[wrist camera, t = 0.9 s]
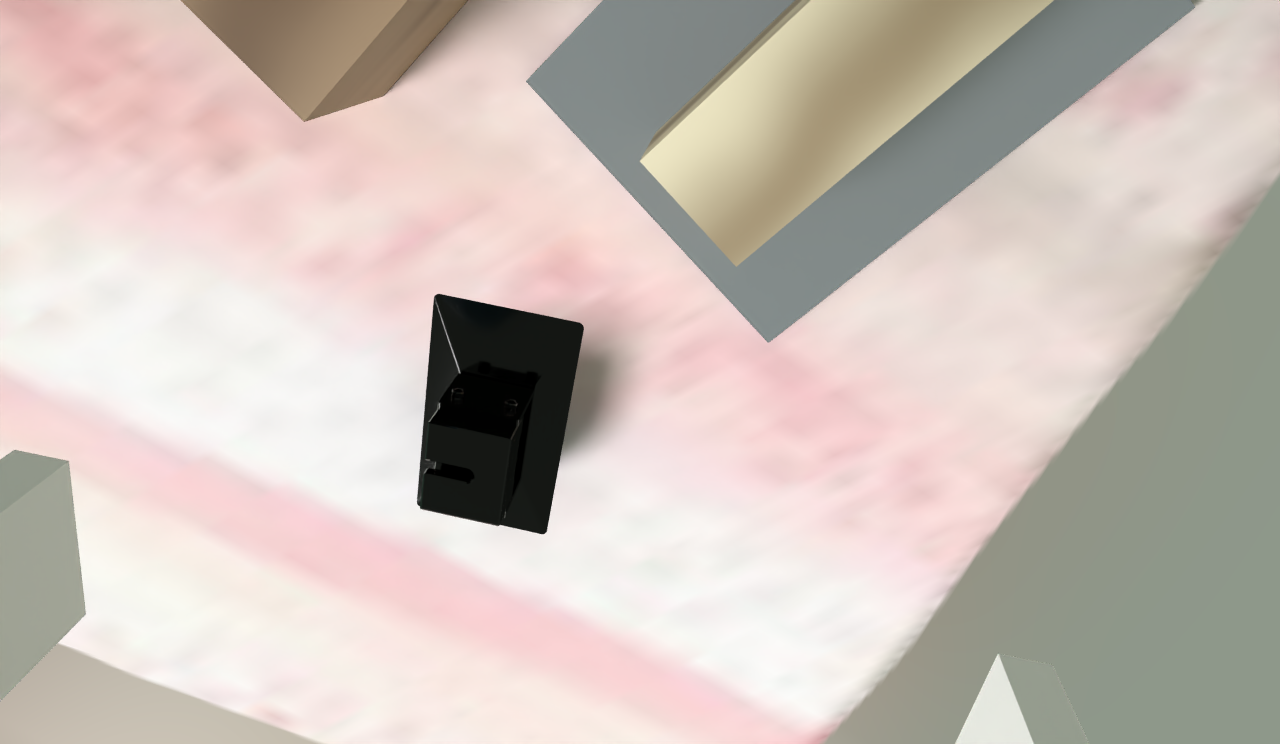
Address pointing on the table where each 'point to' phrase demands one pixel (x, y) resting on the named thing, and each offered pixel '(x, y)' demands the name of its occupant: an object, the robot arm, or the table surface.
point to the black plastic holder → (495, 412)
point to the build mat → (877, 187)
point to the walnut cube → (326, 44)
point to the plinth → (816, 105)
